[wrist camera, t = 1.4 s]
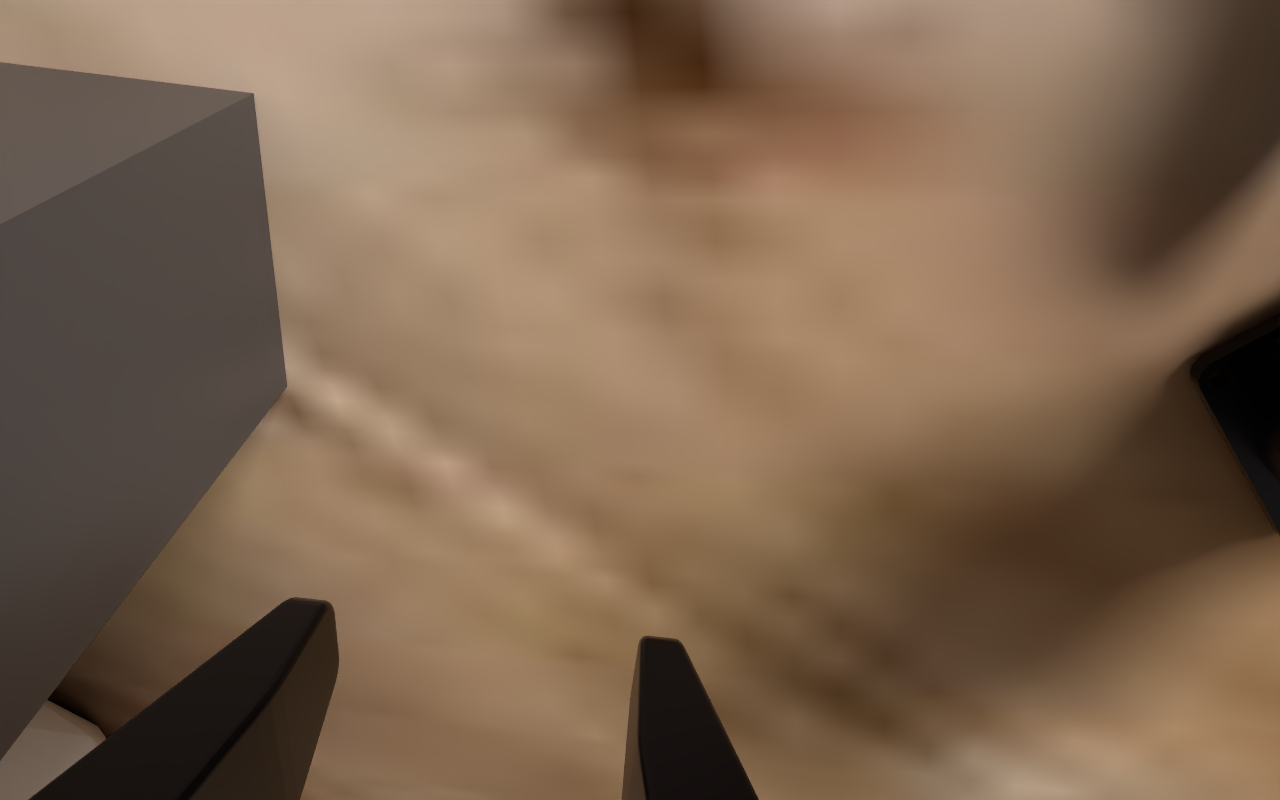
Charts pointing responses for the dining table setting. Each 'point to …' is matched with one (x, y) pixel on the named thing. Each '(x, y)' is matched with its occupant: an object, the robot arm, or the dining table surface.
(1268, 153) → the dining table surface
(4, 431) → the chute block
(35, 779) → the geodesic sphere
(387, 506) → the dining table surface
